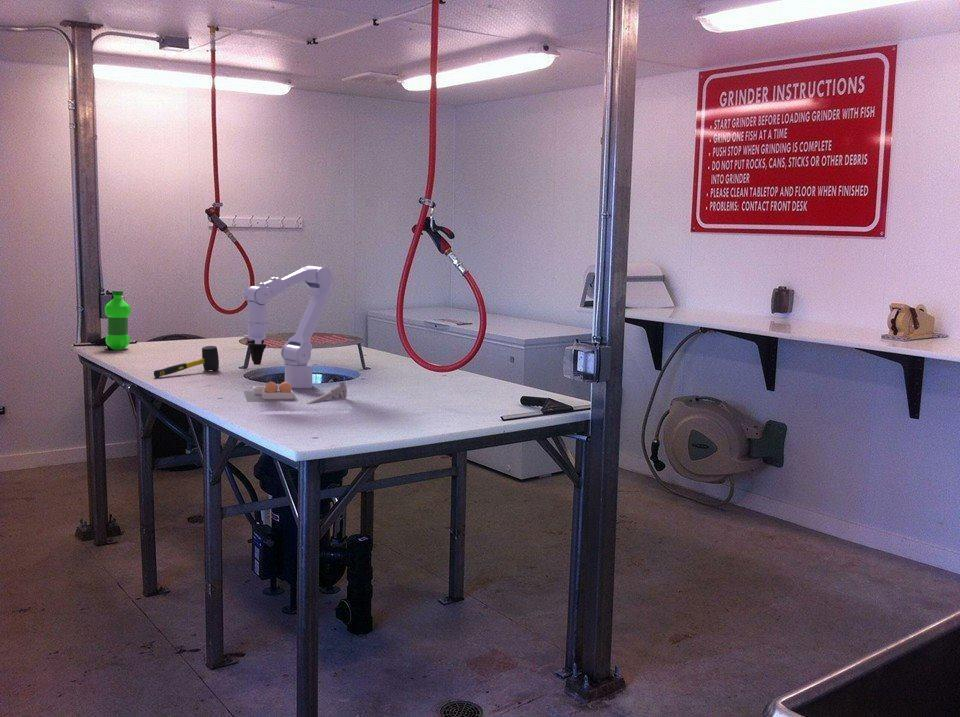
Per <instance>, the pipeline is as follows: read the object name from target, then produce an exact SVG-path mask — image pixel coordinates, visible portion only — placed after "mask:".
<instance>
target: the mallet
mask: <svg viewBox="0 0 960 717" xmlns="http://www.w3.org/2000/svg"><path fill="white" fill-rule="evenodd" d="M219 358H220V357H219V351H218V347H217V346H215V345H206V346H203V347H202V348H201V358H200V359H197V360H196V359H195V360H193V361H192V360H191V361H188V362H183V363H179V364H174V365H170V366H167V367H165V368H162V369H155V370H154V371H153V377H154V378H156V379H158V378H161V377H163V376H169V375H172V374H176V373H179V372H181V371H184V370H187V369H190V368H193V367H196V366H201V365H202V366H203V371H204V370H217V371H218V370H219V369H220V360H219Z"/></svg>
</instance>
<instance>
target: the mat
mask: <svg viewBox="0 0 960 717" xmlns="http://www.w3.org/2000/svg"><path fill="white" fill-rule="evenodd" d="M243 393H244V396H245V399H246V402H248V403H249V402H250V403H251V402H252V403H253V402H254V403H255V402H259V403H260V402H299V399H298V398H297V396H296V394H294V398H293V399H263V398H262V394H253V390H243Z"/></svg>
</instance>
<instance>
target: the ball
mask: <svg viewBox="0 0 960 717" xmlns="http://www.w3.org/2000/svg"><path fill="white" fill-rule="evenodd" d="M264 386H265V391H266V392H267V393H276V392H277V390H279V387H278V384H277V383H276V382H274V381H269V382H267V383H266V384H265V385H264Z"/></svg>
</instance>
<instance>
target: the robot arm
mask: <svg viewBox="0 0 960 717" xmlns="http://www.w3.org/2000/svg"><path fill="white" fill-rule="evenodd" d="M333 280H334V276H333V273H332V271H331V269H330V268H329V267H327V266H316V265H306V266H303V267H301V268H299V269H297V270H296V271H294V272H292V273H290V274H288V275H286V276H284V277H282V278H280V277H276V276H272V277H270V279H269V280H268V281H265V282H259V283H258V286H257V285H256V286H255V285H252V286H250V287H249V288H247V290H246V293H244V298H245V300H246V302H247V311H248V316H247V317H248V318H247V334H244V335H243V338H245V339H246V342H247V344H248V347H249V351H250V358H251V361H252V363H253V365H254V366H257V365H258V366H259V365H261V364H262V359H263V356H264V352H265V350H266V347H267V344H266V343H265V339H267V334H266V328H267V304H268V303H269V302H270V300H271V299H273V298H275V297H278V296H279V295H282V294H284V293H285V292H286V288H289V287H291V286H295V285H296V284H297V285H298V284H299V283H303V282H304V283H305V284H306V286H307V288H308V289H309V290H310V291H311V294H312V296H311V298H310V300H309V302H308V304H307V307H306V309H305V311H304V314H303V316H302V318H301V321H300V322H299V325H298V328H297V330H296V331H295V334H294V335H292V336H291V337H289V338H288V340H287V342H286V343H285V344H284V345H283V346H281V347H282V348H281V350H280V355H281V358H282V360H283V362H284V363H285V364H284V382H288V383H290V384H291V386H292V389H304V388H305V389H310V388H311V389H312V388H313V365H312V364H311V363H308V362H309V361H310V359H311V357H312V356H311V355H312V349H313V345H312V343H311V339H312V336H313V335H314V332H315V330H316V327H317V326H318V324H319V321H320V319H321V316H322V314H323V312H324V309H325V307H326V304H327V302H328V300H329V297H330V295H331V294H330V293H331V292H330V291H331V285H332V284H333V283H332V282H333ZM247 339H248V340H247Z"/></svg>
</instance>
